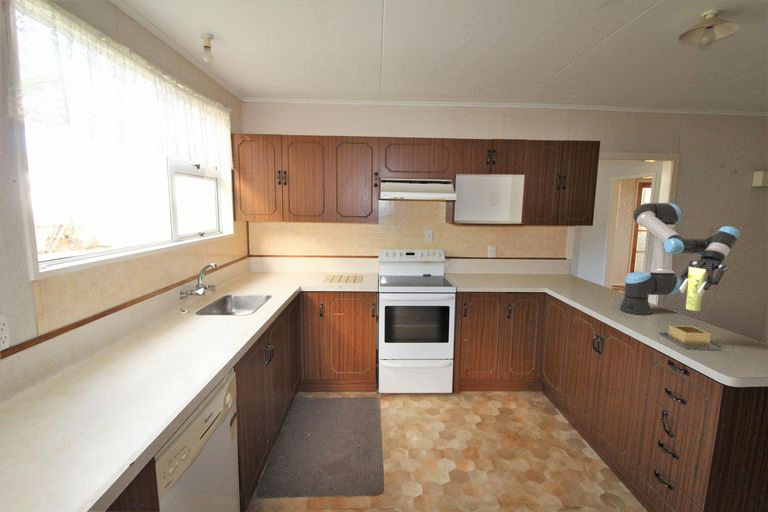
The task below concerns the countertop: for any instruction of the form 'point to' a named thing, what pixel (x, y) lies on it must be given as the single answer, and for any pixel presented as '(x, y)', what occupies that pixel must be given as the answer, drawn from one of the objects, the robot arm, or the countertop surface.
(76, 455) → the countertop surface
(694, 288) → the tube
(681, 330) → the collar plate
